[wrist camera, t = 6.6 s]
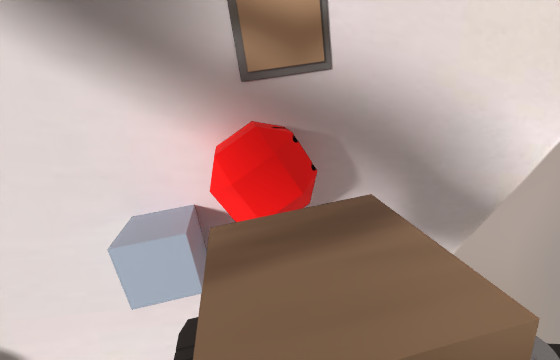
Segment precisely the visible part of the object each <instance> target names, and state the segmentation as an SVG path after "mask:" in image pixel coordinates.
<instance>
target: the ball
mask: <svg viewBox="0 0 560 360" xmlns="http://www.w3.org/2000/svg"><path fill="white" fill-rule="evenodd" d="M316 174H317V169H316V168H315V167H314V165H313V164H312V162H311V160H310V159H309V157H308V155H307V154H306V152H305V151H304V149H303V148H302V146H301V145H300V143H299V142H298V140H297V139H296V138H295V136H294V134H293V133H292V132H291V131H289V130H288V129H286V128H285V127H282V126H276V125H270V124H265V123H259V122H254V121H251V122H250V123H249V124H247V125H246V126H244V127H243V128H242V129H240V130H239V131H237V132H236V133H235V134H233V135H232V136H230V137H229V138H228V139H226V140H225V141H223V142H222V143H221V144H219V145H218V146H216V150H215V155H214V163H213V171H212V178H211V186H210V192H211V194H212V195H213V196H214V197H215V198H216V199H217V201H218V202H219V203H220V204H221V205H222V206H223V208H224V209H225V210H226V211H227V212H228V213H229V215H230V216H231V217H232V218H233V219H234V220H235V222H240V221H245V220H250V219H254V218H259V217H264V216H269V215H274V214H278V213H283V212H288V211H293V210H298V209H302V208H304V207H305V206H306V205H308V204H309V203H310V200H311V195H312V191H313V187H314V183H315V179H316Z"/></svg>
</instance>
